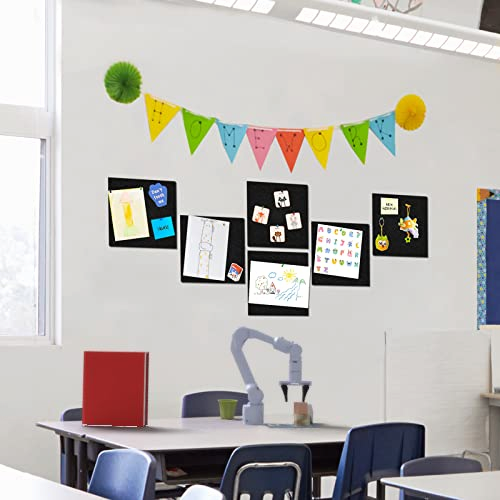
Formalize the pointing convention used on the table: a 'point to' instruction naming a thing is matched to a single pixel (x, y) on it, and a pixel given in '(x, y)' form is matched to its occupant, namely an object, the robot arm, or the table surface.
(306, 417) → the maple base block
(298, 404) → the terracotta block
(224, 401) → the plant pot
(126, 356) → the book
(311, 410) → the small box
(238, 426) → the table surface
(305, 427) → the blueprint mat
